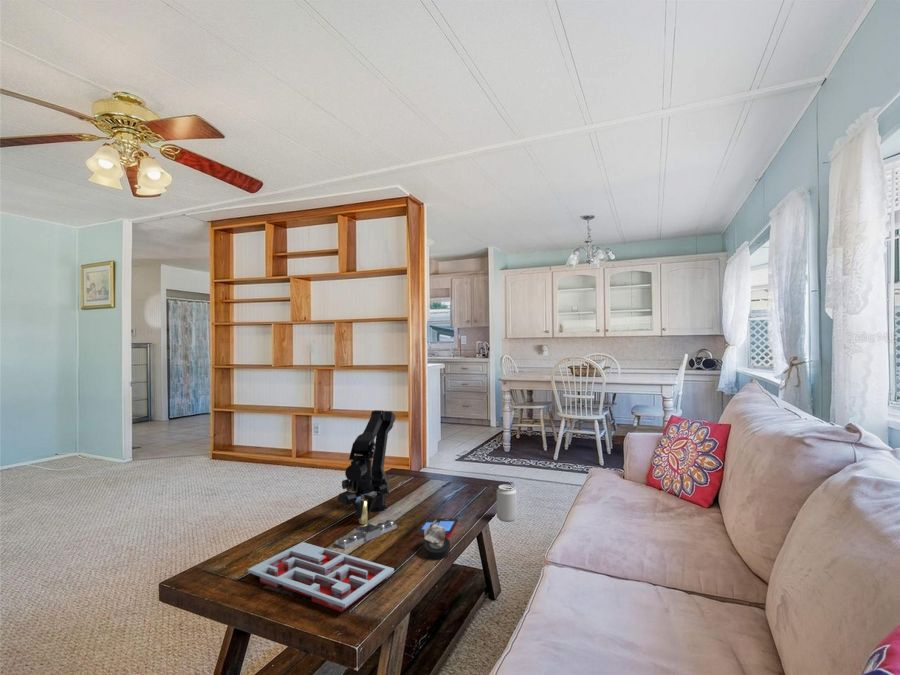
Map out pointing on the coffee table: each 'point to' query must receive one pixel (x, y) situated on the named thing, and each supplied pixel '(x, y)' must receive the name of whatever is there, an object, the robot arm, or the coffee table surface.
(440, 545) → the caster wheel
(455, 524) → the game console
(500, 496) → the can
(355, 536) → the studded bracket plate
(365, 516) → the link pin
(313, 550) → the maze game
